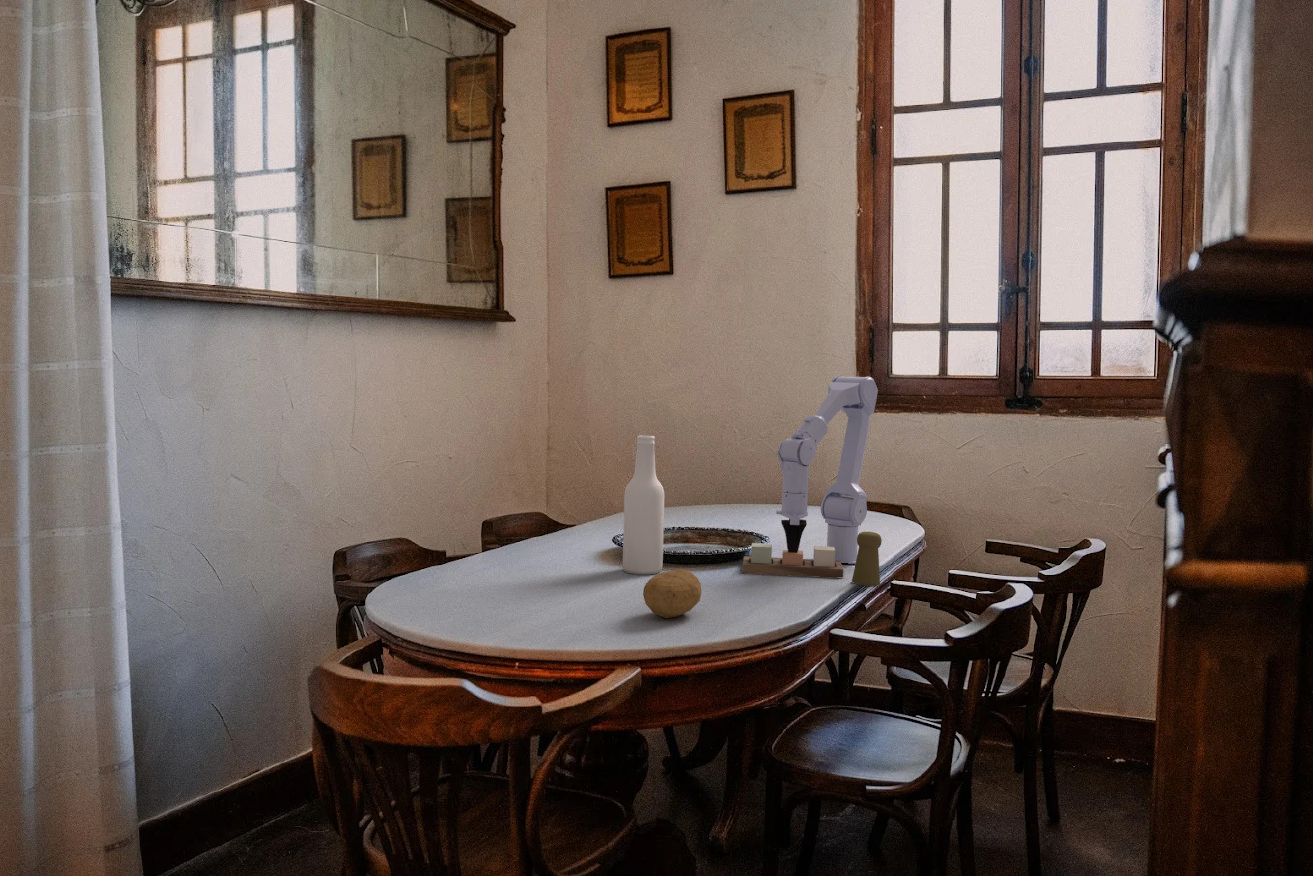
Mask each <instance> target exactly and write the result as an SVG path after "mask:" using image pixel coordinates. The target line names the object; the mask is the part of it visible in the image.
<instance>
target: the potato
mask: <svg viewBox="0 0 1313 876" xmlns="http://www.w3.org/2000/svg"><path fill="white" fill-rule="evenodd" d="M642 596H643V601H644V603H645V604H646V606H647V607H648V608H649V609H650V611H651V612H652V613H653V614H654V615H655V614H656V615H658V616H660V617H662V618H664V619H672V617H673V618H676V617H679V616H680V615H683V614H686V613H688V612H690V611H691V610H693V609H694V607H695V606H696V605H697V604H698V603H699V602H700V601H701V596H702V585H701V582H700V580H699V577H697V576H696V575H695V574H694V573H692V572H691V571H689V570H687V569H683V568H682V569H680V568H679V569H674V570H669V571H665V572H659V573H657V574H654V576H652V577H651V578H650V579H649V580H648V581H647V582H646V583H645V585H644V587H643V592H642Z"/></svg>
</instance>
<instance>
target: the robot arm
mask: <svg viewBox="0 0 1313 876" xmlns="http://www.w3.org/2000/svg"><path fill="white" fill-rule="evenodd" d="M878 391H879V390H878V387H877V385H876V382H875V380H874V378H873V377H871V376H842V375H835V376H834V377H833V378H832V380H831V382H830V383H829V384H828V387H827V392H828V394H827V396H826V397H825V399H824V400H823V402H822V403H821V405H820V407H819V408H818V410H817V411H816V413H815V415H808V416H806V417H805V418H804V419H803V420H804V421H803V422H802V423H801V424H800V425H799V427H798V428H797V430H796V431H795V432H794V433H793V434H792V436H791V437H790V438H786V439H784V440H782V442H781V443H780V444H779V448H778V450H777V457H778V459H779V462H780V469H781V471H782V486H781V487H782V488H781V490H782V491H781V510H780V509H779V510H778V509H777V510H776V511H775V512H776V513H775V514H776V515H781V516H783V517H784V518H787V519H781V520H780V521H781V526H782V528H783V531H784V534H785V540H786V547H787V549H786V550H788V552H790V553H797V552H798V551H799V549H800V543H801V539H802V535H803V533H804V531H805V528H806V527H807V525H808V524H807V520H806V519H803V518H806V517H808V516H809V512H808V501H809V500H808V498H809V495H808V494H809V492H808V491H809V475H810V474H809V472H810V471H809V470H810V465H811V464H812V463H813V462H814V460H815V457H816V451H817V450H818V445H819V444H820V442H821V441H822V440H823V439H824V437H825V436H826V435H827V434H828V431H829V427H828V424H829V423H830V422H831V421H832V420H833V419H834V417H836V415H837V414H838V413H839V412H840V411H841V412H843V413H845V414H846V416H847V422H846V429H845V434H844V439H843V444H842V450H841V456H840V461H839V466H838V470H837V471H838V472H837V477H836V481H834V483H833V484H831V485H830V486H828V487H827V488H826V491H825V494H824V496H823V499H822V501H821V504H820V514H821V517H822V519H824V520H825V521H824V522H825V524H827V532H826V533H827V534H826V536H827V537H826V547H834V548H835V560H837V561H841V563H848V564H847V565H855V564H856V559H857V554H858V549H859V546H858V544H857V537H858V535H859V526H861V525H862V523H863V522H864V521H865V519H866V517H867V515H868V514H867V513H868V506H867V499H868V494H867V493H866V492H865V491H864V489H862V487H861V486H860V480H861V475H862V469H863V464H864V458H865V452H866V448H867V444H868V443H867V441H868V438H869V437H868V436H869V432H870V425H871V420H872V415H873V414H874V413H875V409H876V404H877V397H878Z"/></svg>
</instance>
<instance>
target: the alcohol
mask: <svg viewBox="0 0 1313 876" xmlns="http://www.w3.org/2000/svg"><path fill="white" fill-rule="evenodd" d="M636 439H637V440H636V444H637V445H636V454H635V465H634V474H633V476H632V478H631V480H630V481H629V482H628V483H627V484H626V486H625V490H624V496H623V497H624V498H623V499H624V500H623V501H624V503H623V506H624V507H623V531H622V532H623V535H622V537H623V539H622V542H623V543H622V569H623V571H624V572H625V573H626V574H631V575H636V576H637V575H638V576H640V575H642V576H650V575H657V574H660V573H661V570H662V569H663V564H664V563H663V560H664V527H665V526H664V524H665V523H664V521H665V490H664V486H663V484H662V483H661V482H660V481H659V480H658V476H657V473H656V458H655V457H656V455H655V454H656V453H655V444H656V441H655V439H656V437H655V435H648V434H647V435H646V434H645V435H644V434H643V435H637V437H636Z"/></svg>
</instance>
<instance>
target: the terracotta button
mask: <svg viewBox="0 0 1313 876" xmlns="http://www.w3.org/2000/svg"><path fill="white" fill-rule="evenodd" d="M781 556H782V557H781V558H782V564H785V565H803V559H804V551H803V550H798V552H797V553H790V552H788V549H782V555H781Z"/></svg>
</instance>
